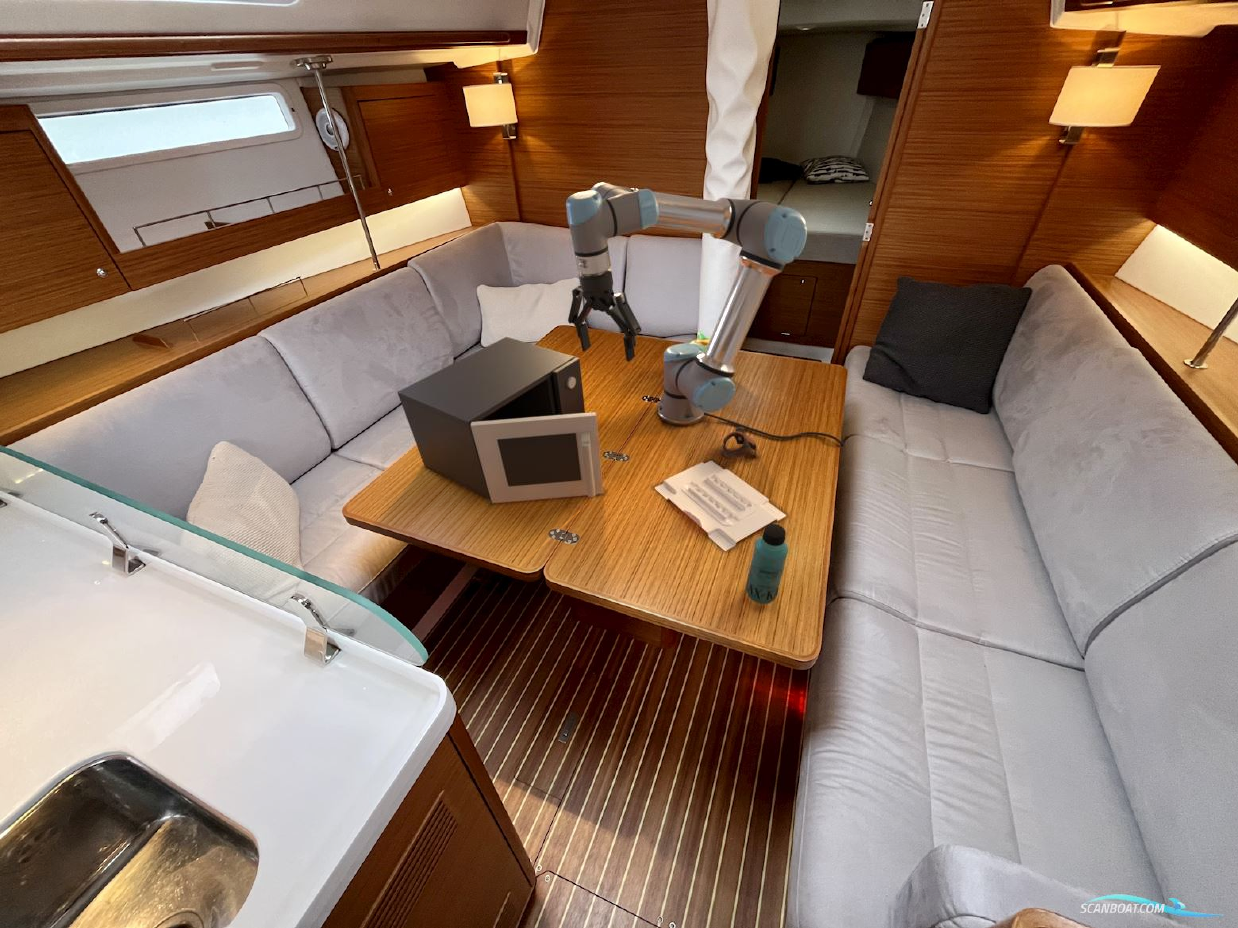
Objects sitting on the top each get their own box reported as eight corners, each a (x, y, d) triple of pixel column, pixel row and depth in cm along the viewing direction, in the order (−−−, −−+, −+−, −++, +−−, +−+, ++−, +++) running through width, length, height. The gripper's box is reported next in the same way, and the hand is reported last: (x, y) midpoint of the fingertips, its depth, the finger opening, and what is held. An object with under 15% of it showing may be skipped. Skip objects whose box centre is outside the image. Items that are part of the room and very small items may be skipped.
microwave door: (604, 509, 128) (597, 429, 112) (489, 519, 127) (466, 440, 112) (603, 489, 134) (596, 411, 118) (492, 499, 133) (471, 422, 118)
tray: (711, 460, 142) (712, 449, 139) (786, 518, 124) (789, 507, 121) (653, 488, 133) (653, 477, 131) (725, 554, 115) (726, 544, 113)
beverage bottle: (740, 585, 107) (751, 519, 94) (771, 583, 107) (786, 516, 95) (749, 611, 102) (762, 544, 89) (781, 608, 102) (798, 541, 90)
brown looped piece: (761, 465, 140) (752, 448, 134) (729, 474, 144) (719, 458, 138) (757, 432, 147) (747, 416, 141) (726, 442, 151) (716, 426, 145)
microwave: (589, 431, 157) (581, 358, 141) (496, 503, 132) (474, 425, 116) (519, 405, 171) (506, 336, 156) (424, 466, 146) (397, 391, 131)
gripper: (542, 271, 115) (561, 351, 129) (632, 283, 103) (642, 371, 117) (561, 258, 119) (578, 338, 133) (650, 269, 107) (658, 355, 121)
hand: (608, 353), depth 125 cm, fingers open, 13 cm apart
